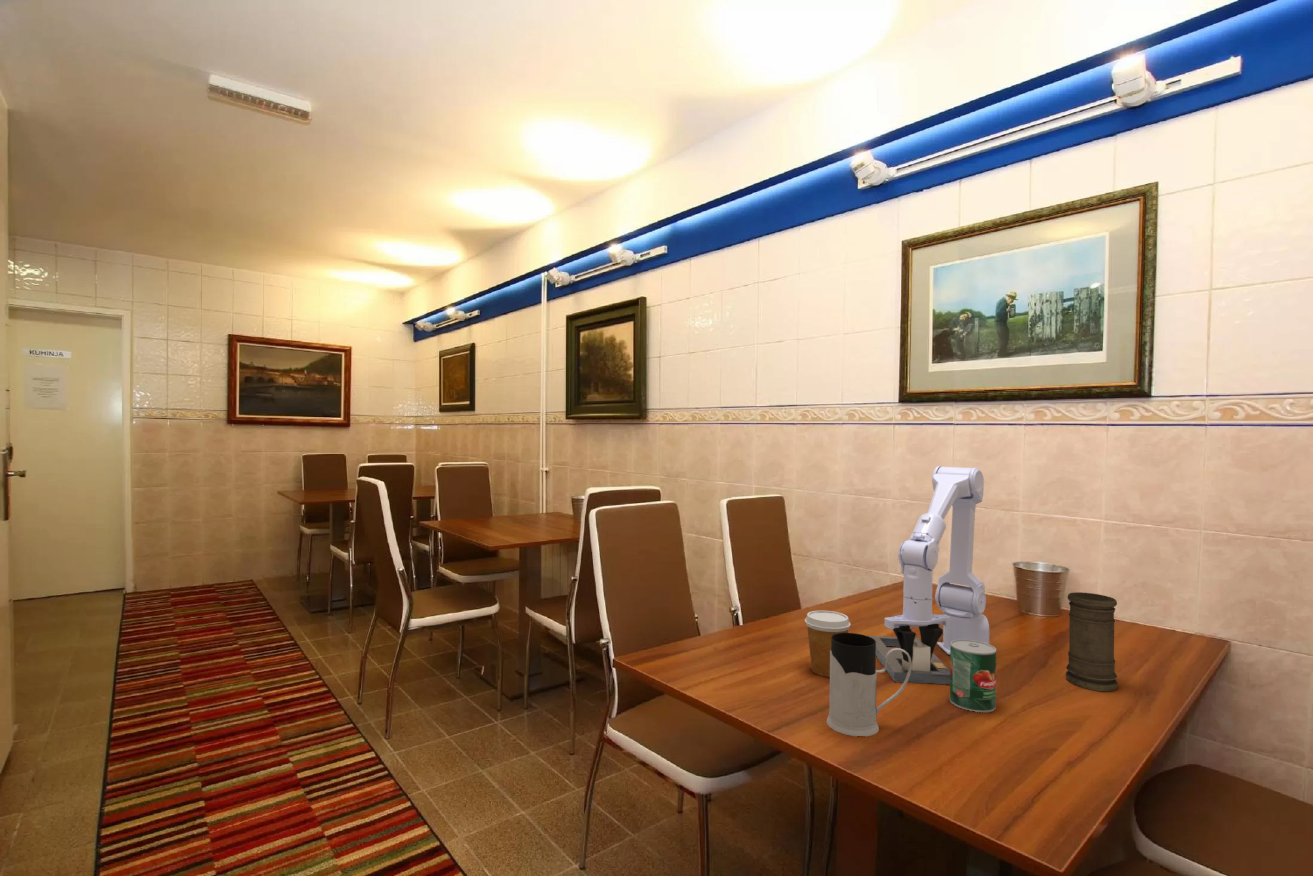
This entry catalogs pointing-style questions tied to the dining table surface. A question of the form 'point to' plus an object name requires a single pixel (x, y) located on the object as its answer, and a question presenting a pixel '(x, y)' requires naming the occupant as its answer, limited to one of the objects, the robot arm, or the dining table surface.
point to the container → (1091, 641)
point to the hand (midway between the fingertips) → (916, 660)
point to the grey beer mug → (856, 684)
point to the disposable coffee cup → (823, 637)
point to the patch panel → (898, 674)
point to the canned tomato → (973, 675)
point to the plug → (919, 657)
